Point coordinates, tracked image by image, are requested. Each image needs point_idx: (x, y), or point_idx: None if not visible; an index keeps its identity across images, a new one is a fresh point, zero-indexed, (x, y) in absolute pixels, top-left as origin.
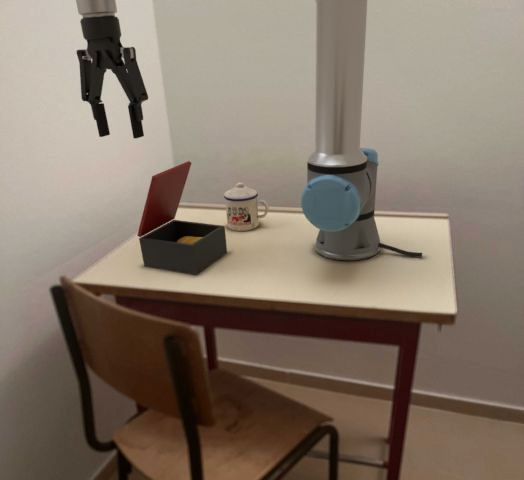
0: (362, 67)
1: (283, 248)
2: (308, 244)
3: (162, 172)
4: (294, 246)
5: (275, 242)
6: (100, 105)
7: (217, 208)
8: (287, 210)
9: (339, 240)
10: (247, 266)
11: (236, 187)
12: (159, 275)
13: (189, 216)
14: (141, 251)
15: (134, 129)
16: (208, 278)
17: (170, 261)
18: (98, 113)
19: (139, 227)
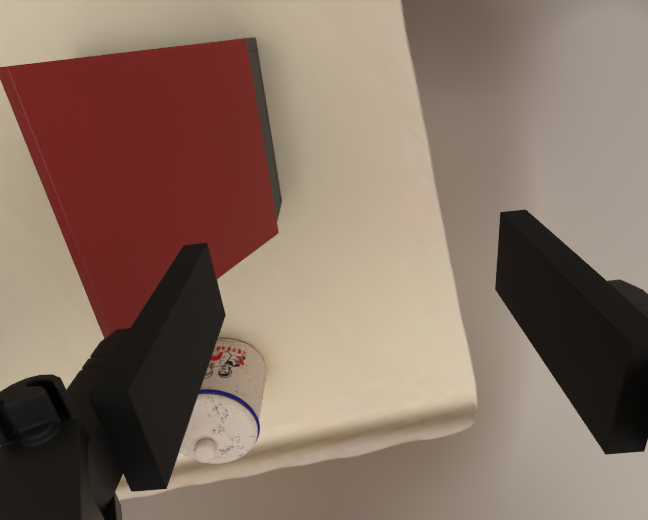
0: None
1: (38, 296)
2: (11, 336)
3: (37, 152)
4: (27, 315)
5: (82, 317)
6: (608, 401)
7: (372, 431)
8: (208, 470)
9: None
10: (17, 172)
11: (213, 439)
12: (164, 5)
13: (403, 369)
14: (248, 38)
15: (169, 273)
16: (33, 59)
17: None
18: (577, 310)
19: (222, 41)
